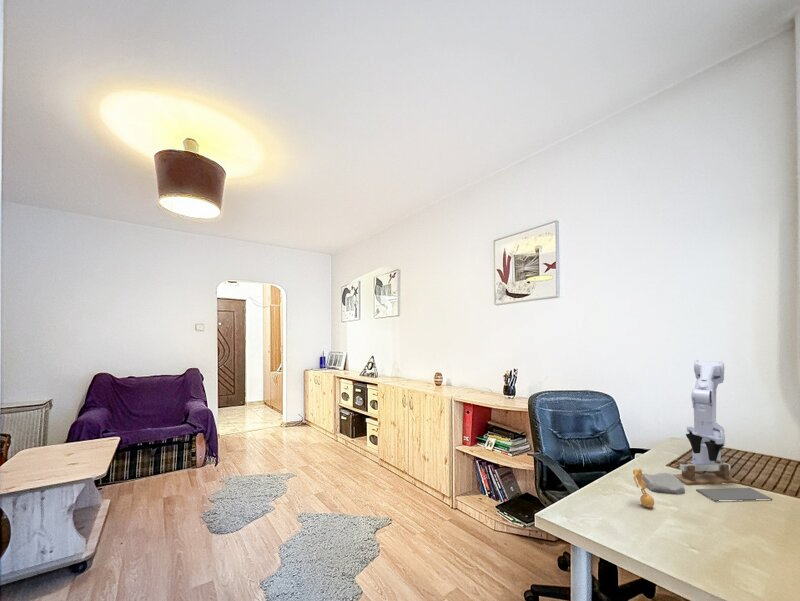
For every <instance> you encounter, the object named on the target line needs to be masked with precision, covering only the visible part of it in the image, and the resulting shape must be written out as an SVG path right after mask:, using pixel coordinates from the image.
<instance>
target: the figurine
mask: <svg viewBox="0 0 800 601" xmlns="http://www.w3.org/2000/svg"><path fill="white" fill-rule="evenodd" d="M632 474H633V480H634V482H635V485H636V487H637V488H638V489H640V487H641V489H640V490H641V493H642V495H641V496H640V497H639V498H640V503H641V504H642V506H643V507H646V508H653V507H654V505H655V499H654V498H653V496H651V495H650V494H649V493H648V492H646V489H648V487H647V485H646V484H645V483H644V481H643V480H642V476H643V477H644V478H645V479H646V477H645V476H644V475H643V474H644V473H643V470H642V468H639V469H633V470H632ZM646 480H647V479H646Z"/></svg>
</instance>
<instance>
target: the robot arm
mask: <svg viewBox="0 0 800 601" xmlns="http://www.w3.org/2000/svg"><path fill="white" fill-rule="evenodd" d="M693 372H694V374H695V379H696V381H695V386H694V389H692V390H691V396H690V397H691V398H690V399H691V403H692V409H693V426H687V427H686V432H687V433H685V436H686V438H687V440H688V441H689V443H690V445H691V450H692V452H691V455H692V460H691V461H690V464H700V463H715V462H714V461H721V462H722V454H721V452H722V451H721V450H722V448H724V447H725V446H726V435H725V429H724V427H723V426H722V425H720V424H719V423H717V388H718V386H719V385H720V384H723V383H724V381H725V363H724V362H723V361H713V360H700V359H695V360H694V362H693Z"/></svg>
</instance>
